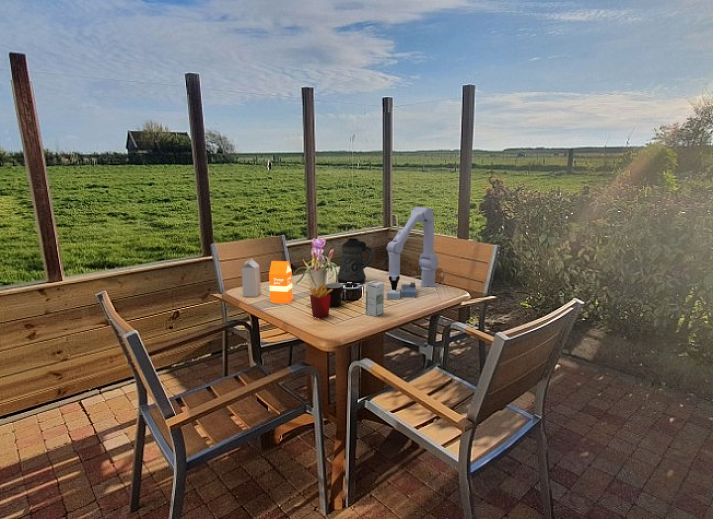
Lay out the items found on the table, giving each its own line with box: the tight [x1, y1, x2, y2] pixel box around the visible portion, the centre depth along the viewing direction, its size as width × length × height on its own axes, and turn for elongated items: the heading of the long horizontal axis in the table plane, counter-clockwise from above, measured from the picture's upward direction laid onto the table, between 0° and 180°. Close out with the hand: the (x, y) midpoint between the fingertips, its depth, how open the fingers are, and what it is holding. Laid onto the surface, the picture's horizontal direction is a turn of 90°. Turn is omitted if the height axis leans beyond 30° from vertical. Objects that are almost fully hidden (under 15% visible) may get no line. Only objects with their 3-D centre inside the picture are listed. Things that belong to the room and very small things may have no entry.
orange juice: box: [268, 260, 294, 304], centre depth 206 cm, size 8×9×20 cm
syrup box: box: [365, 280, 385, 317], centre depth 186 cm, size 6×6×14 cm
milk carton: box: [240, 257, 262, 298], centre depth 216 cm, size 7×7×19 cm
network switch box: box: [400, 282, 417, 298], centre depth 218 cm, size 14×8×4 cm, turn 173°
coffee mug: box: [325, 282, 344, 309], centre depth 200 cm, size 12×9×10 cm
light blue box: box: [386, 289, 401, 300], centre depth 212 cm, size 6×6×3 cm
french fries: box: [309, 283, 333, 320], centre depth 183 cm, size 9×8×15 cm
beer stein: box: [336, 237, 374, 285], centre depth 241 cm, size 16×19×25 cm
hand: (394, 290), depth 219 cm, fingers closed
